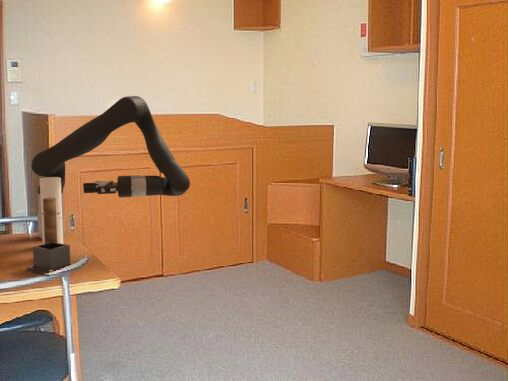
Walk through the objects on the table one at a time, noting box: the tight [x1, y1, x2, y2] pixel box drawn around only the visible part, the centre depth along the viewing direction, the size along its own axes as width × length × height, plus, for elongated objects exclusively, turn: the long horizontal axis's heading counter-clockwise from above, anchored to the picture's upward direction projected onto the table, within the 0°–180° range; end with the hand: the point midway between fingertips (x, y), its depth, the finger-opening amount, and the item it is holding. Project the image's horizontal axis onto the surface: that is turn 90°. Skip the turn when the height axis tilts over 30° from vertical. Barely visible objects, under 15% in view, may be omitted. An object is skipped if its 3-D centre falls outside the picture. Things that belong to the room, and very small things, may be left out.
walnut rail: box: [43, 198, 57, 244], centre depth 206 cm, size 4×4×20 cm
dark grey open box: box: [25, 242, 73, 275], centre depth 192 cm, size 11×11×8 cm
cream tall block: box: [39, 176, 64, 244], centre depth 219 cm, size 7×7×25 cm
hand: (83, 188), depth 207 cm, fingers open, 8 cm apart
